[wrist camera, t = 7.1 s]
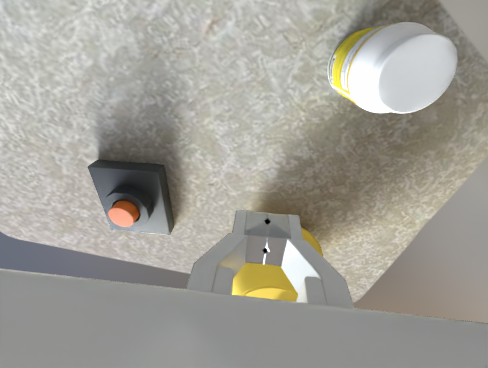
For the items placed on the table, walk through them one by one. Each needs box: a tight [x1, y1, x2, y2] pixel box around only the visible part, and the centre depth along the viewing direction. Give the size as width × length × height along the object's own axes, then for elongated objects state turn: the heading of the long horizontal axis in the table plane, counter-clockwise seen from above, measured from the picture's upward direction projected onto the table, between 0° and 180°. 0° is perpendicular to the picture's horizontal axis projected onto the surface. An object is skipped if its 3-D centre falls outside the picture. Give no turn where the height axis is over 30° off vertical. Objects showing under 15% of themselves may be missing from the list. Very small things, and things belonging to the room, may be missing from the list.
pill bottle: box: [328, 22, 458, 113], centre depth 19 cm, size 6×6×11 cm
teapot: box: [232, 227, 323, 302], centre depth 33 cm, size 20×16×14 cm
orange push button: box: [108, 200, 139, 227], centre depth 32 cm, size 4×4×2 cm
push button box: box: [88, 160, 174, 235], centre depth 34 cm, size 12×10×4 cm
